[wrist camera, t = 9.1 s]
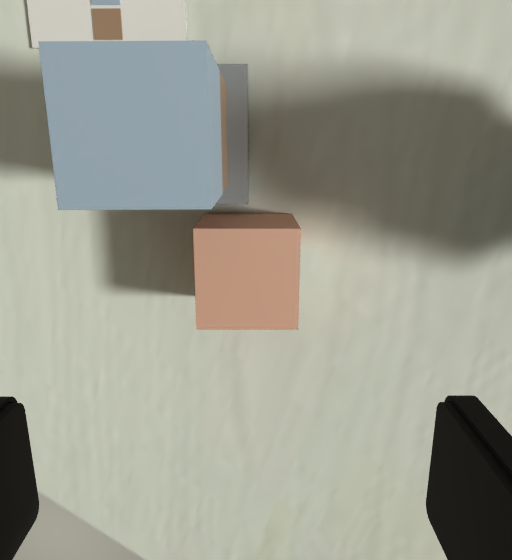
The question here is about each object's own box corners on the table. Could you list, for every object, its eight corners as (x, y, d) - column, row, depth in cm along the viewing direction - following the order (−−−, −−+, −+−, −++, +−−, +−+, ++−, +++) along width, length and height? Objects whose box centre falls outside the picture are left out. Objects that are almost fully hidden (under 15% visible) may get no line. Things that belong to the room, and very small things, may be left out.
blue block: (222, 194, 23) (211, 209, 17) (108, 194, 23) (58, 209, 17) (219, 70, 21) (206, 40, 15) (97, 71, 21) (38, 41, 16)
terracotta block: (290, 296, 31) (298, 329, 26) (207, 296, 31) (196, 329, 26) (292, 213, 30) (300, 228, 24) (205, 213, 30) (193, 228, 24)
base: (248, 202, 30) (246, 217, 23) (122, 203, 30) (85, 217, 23) (247, 66, 27) (244, 40, 21) (112, 66, 27) (67, 40, 21)
